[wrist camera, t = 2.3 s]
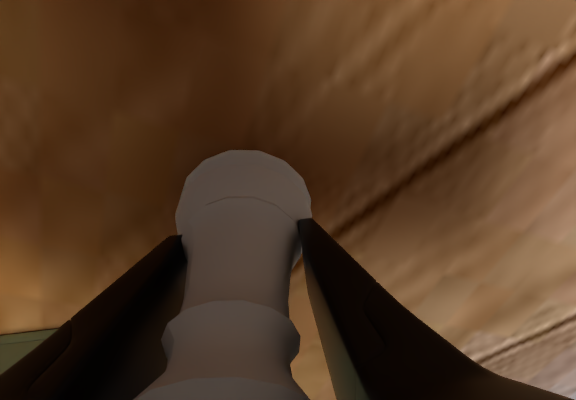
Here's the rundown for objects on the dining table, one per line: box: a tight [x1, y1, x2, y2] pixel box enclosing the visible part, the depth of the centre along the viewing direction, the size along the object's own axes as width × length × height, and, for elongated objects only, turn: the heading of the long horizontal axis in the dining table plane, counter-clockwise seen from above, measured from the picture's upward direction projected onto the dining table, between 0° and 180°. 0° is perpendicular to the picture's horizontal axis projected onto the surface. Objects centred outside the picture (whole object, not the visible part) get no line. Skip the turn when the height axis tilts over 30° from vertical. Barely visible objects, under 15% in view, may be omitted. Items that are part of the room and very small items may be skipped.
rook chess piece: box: [133, 150, 312, 400], centre depth 8 cm, size 4×4×8 cm
